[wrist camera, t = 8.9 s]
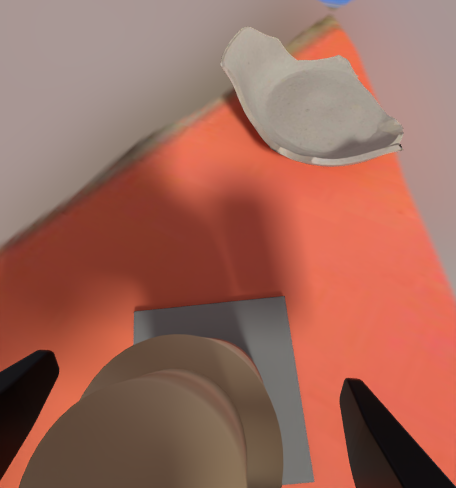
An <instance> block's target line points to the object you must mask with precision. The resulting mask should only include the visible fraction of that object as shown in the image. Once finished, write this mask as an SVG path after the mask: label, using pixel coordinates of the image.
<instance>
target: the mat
mask: <svg viewBox="0 0 456 488" xmlns="http://www.w3.org/2000/svg"><path fill="white" fill-rule="evenodd" d="M171 334H185V335H193V336H199V337H206V338H217V339H222V340H225V341H229V342H231V343H233V344H235V345H236V346H238V347H239V348H241V349H242V350H243V351H244V352H245V353H246V354H247V355H248V356H249V357H250V358H251V359H252V361H253V362H254V364H255V365H256V367H257V369H258V371H259V373H260V375H261V378H262V380H263V384H264V386H265V389H266V391H267V393H268V395H269V397H270V400H271V402H272V405H273V407H274V410H275V413H276V415H277V419H278V423H279V427H280V431H281V438H282V445H283V478H282V485H286V484H298V483H309V482H314V476H313V470H312V464H311V458H310V452H309V445H308V439H307V433H306V427H305V420H304V414H303V408H302V402H301V396H300V389H299V383H298V377H297V371H296V364H295V358H294V352H293V346H292V340H291V333H290V327H289V321H288V315H287V308H286V302H285V296H280V297H271V298H261V299H251V300H242V301H232V302H222V303H213V304H203V305H193V306H183V307H174V308H164V309H154V310H145V311H135V312H134V345H135V344H137V343H139V342H142V341H144V340H147V339H150V338H154V337H158V336H162V335H171Z"/></svg>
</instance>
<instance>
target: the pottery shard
mask: <svg viewBox="0 0 456 488" xmlns="http://www.w3.org/2000/svg"><path fill="white" fill-rule="evenodd" d="M220 64H221V67H222V69H223V70H224V72H225V73H226V74H227V76H228V77H229V79H230V80H231V82H232V84H233V86H234V88H235V90H236V93H237V96H238V98H239V101H240V103H241V105H242V108H243V110H244V112H245V114H246V115H247V117H248V119H249V120H250V122H251V123H252V125H253V126H254V127H255V129H256V130H257V132H258V133H259V135H260V136H261V137H262V139H263V140H264V141H265V142H266V143H267V144H268V145H269V147H270V148H272V149H273V150H274V151H276V152H278V153H280V154H282V155H284V156H286V157H288V158H290V159H292V160H295V161H298V162H302V163H306V164H310V165H317V166H329V167H334V166H346V165H353V164H358V163H361V162H365V161H368V160H371V159H374V158H376V157H379V156H381V155H384V154H388V153H392V152H397V151H401V150H403V149H402V147H401V144H399V143H400V141H401V139H402V137H403V134H404V133H403V127H402V125H401V124H400V123H399V122H398V121H397V120H396V119H395V118H393V117H390V116H389V115H388V114H387V113H386V112H385V111H384V110H383V109H382V108H381V106H380V105H379V104H378V102H377V101H376V100H375V98H374V97H373V96H372V94H371V93H370V92H369V91H368V90H367V89H366V88H365V87H364V86H363V85H362V83H361V82H360V81H359V80H358V78H357V76H358V75H356V74H355V73H354V70H353V69H352V67H351V64H350V62H349V61H348V60H347V59H346V58H343V57H342V56H340V55H337V56H335V57H331V58H326V59H319V60H296V59H295V58H294V57H292V56H291V55H290V54H289V53H288V52H287V51H286V49H285V48H284V47H283V46H282V44H281V42H280V40H279V39H278V38H277V37H271V36H267V35H265V34H263V33H261V32H259V31H257V30H255V29H253V28H250V27H245V28H242V29H241V30H240V31H239V32H238V33H237V34H236V35H235V36H234V37H233V39H232V40H231V41H230V43H229V44H228V46H227V47H226V49H225V51H224V53H223V56H222V58H221V62H220Z"/></svg>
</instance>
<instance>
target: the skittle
mask: <svg viewBox="0 0 456 488" xmlns="http://www.w3.org/2000/svg"><path fill="white" fill-rule="evenodd" d="M282 478H283V445H282V438H281V431H280V427H279V423H278V419H277V415H276V413H275V410H274V407H273V405H272V402H271V400H270V397H269V395H268V393H267V391H266V389H265V386H264V384H263V380H262V378H261V375H260V373H259V371H258V369H257V367H256V365H255V364H254V362H253V361H252V359H251V358H250V357H249V356H248V355H247V354H246V353H245V352H244V351H243V350H242V349H241V348H239V347H238V346H236V345H235V344H233V343H231V342H229V341H225V340H222V339H217V338H206V337H199V336H193V335H185V334H171V335H162V336H158V337H154V338H150V339H147V340H144V341H142V342H139V343H137V344H135V345H133V346H131V347H129V348H128V349H126V350H124V351H123V352H121V353H120V354H119V355H117V356H116V357H114V358H113V359H112V360H111V361H110V362H109V363H108V364H107V365H105V366H104V367H103V368H102V370H101V371H100V372H99V373H98V374H97V375H96V376H95V378H94V379H93V380H92V382H91V383H90V384H89V386H88V387H87V389H86V390H85V392H84V394H83V395H82V397H81V399H80V401H79V402H77V403H76V404H74V405H73V406H72V407H71V408H69V409H68V410H67V411H66V412H65V413H64V414H63V415H62V416H61V417H60V418H59V419H58V420H57V421H56V422H55V423H54V424H53V426H52V427H51V428H50V429H49V430H48V432H47V433H46V434H45V436H44V437H43V439H42V440H41V442H40V443H39V444H38V446H37V448H36V450H35V452H34V453H33V455H32V457H31V459H30V461H29V463H28V465H27V467H26V470H25V472H24V474H23V476H22V479H21V482H20V485H19V488H281V487H282Z"/></svg>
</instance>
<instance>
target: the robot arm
mask: <svg viewBox="0 0 456 488" xmlns="http://www.w3.org/2000/svg"><path fill="white" fill-rule="evenodd" d="M58 375H59V366H58V363H57V360H56V357H55V354H54V352H52V351H50V350H38V351H36V352H34V353H32V354H30V355H29V356H27V357H25V358H24V359H22V360H20V361H18V362H17V363H15V364H13V365H12V366H10V367H8V368H6V369H5V370H3V371H1V372H0V480H1V479H2V477H3V475H4V474H5V472H6V470H7V469H8V467H9V465H10V464H11V462H12V460H13V459H14V457H15V456H16V454H17V452H18V451H19V449H20V447H21V446H22V444H23V442H24V441H25V439H26V437H27V436H28V434H29V432H30V431H31V429H32V427H33V425H34V423H35V422H36V420H37V418H38V416H39V414H40V412H41V410H42V408H43V406H44V404H45V402H46V400H47V398H48V396H49V394H50V392H51V390H52V388H53V386H54V384H55V382H56V380H57V378H58ZM340 408H341V414H342V421H343V427H344V433H345V439H346V445H347V451H348V457H349V463H350V467H351V471H352V475H353V479H354V483H355V487H356V488H456V486H455V485H454V484H453V483H452V482H451V481H450V480H449V478H448V477H447V476H446V475H445V474H444V473H443V472H442V470H441V469H440V468H439V467H438V466H437V465H436V464H435V463H434V461H433V460H432V459H431V458H430V457H429V456H428V455H427V454H426V452H425V451H424V450H423V449H422V448H421V447H420V446H419V444H418V443H417V442H416V441H415V440H414V439H413V438H412V437H411V435H410V434H409V433H408V432H407V431H406V430H405V429H404V428H403V426H402V425H401V424H400V423H399V422H398V421H397V420H396V419H395V417H394V416H393V415H392V414H391V413H390V412H389V411H388V409H387V408H386V407H385V406H384V405H383V404H382V403H381V402H380V400H379V399H378V398H377V397H376V396H375V395H374V394H373V393H372V391H371V390H370V389H369V388H368V387H367V386H366V385H365V384H364V382H363V381H362V380H360V379H356V378H346V379H345V380H344V383H343V387H342V391H341V394H340Z"/></svg>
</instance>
